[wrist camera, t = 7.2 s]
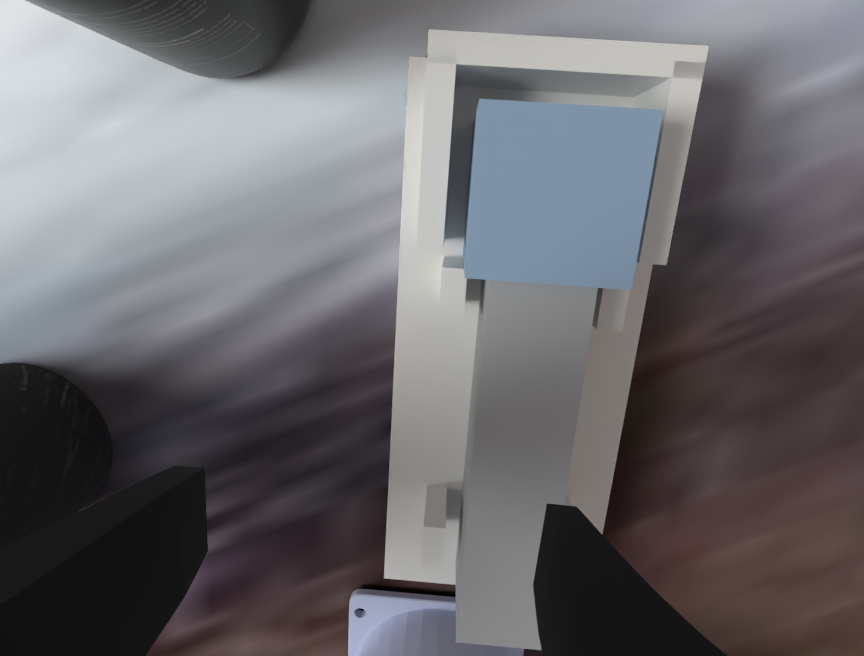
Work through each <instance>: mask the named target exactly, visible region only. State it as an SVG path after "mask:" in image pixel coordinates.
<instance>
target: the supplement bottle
mask: <svg viewBox="0 0 864 656" xmlns="http://www.w3.org/2000/svg"><path fill="white" fill-rule="evenodd" d="M26 1H28V2H30V3H32V4H35V5H37V6H39V7H41V8H44V9H46V10H48V11H50V12H52V13H55V14H57V15H59V16H61V17H64V18H66V19H68V20H70V21H72V22H75V23H77V24H79V25H81V26H84V27H86V28H88V29H90V30H92V31H95V32H97V33H99V34H101V35H104V36H106V37H108V38H110V39H112V40H115V41H117V42H119V43H121V44H123V45H126V46H128V47H130V48H132V49H135V50H137V51H139V52H141V53H143V54H146V55H148V56H150V57H152V58H155V59H157V60H159V61H161V62H164V63H166V64H169V65H171V66H173V67H176V68H178V69H181V70H183V71H186V72H189V73H192V74H195V75H199V76H204V77H209V78H233V77H239V76H243V75H247V74H250V73H253V72H255V71H258V70H260V69H261V68H263V67H265V66H267V65H268V64H270V63H271V62H273V61H274V60H275V59H277V58H278V57H279V56H280V55H281V54H282V53H283V52H284V51H285V50H286V49H287V48H288V47H289V46H290V44H291V43H292V42H293V41H294V39H295V38H296V36H297V35H298V33H299V31H300V30H301V28H302V26H303V24H304V22H305V19H306V16H307V14H308V11H309V8H310V4H311V1H312V0H26Z"/></svg>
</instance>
